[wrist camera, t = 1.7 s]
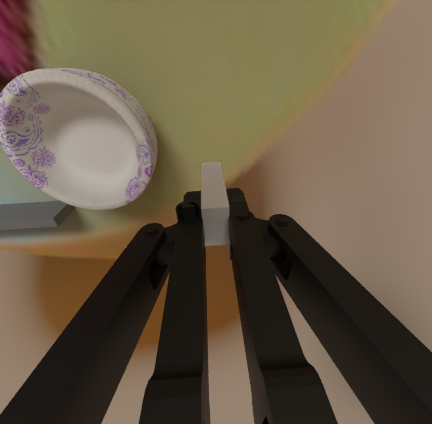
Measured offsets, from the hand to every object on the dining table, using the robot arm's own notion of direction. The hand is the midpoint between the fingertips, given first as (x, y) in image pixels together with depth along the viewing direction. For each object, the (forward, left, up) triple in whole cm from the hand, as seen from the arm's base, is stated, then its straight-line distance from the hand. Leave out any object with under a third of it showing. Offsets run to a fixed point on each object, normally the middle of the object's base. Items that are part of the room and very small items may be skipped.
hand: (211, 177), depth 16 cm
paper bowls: (0, -14, -15) cm, 20 cm away
